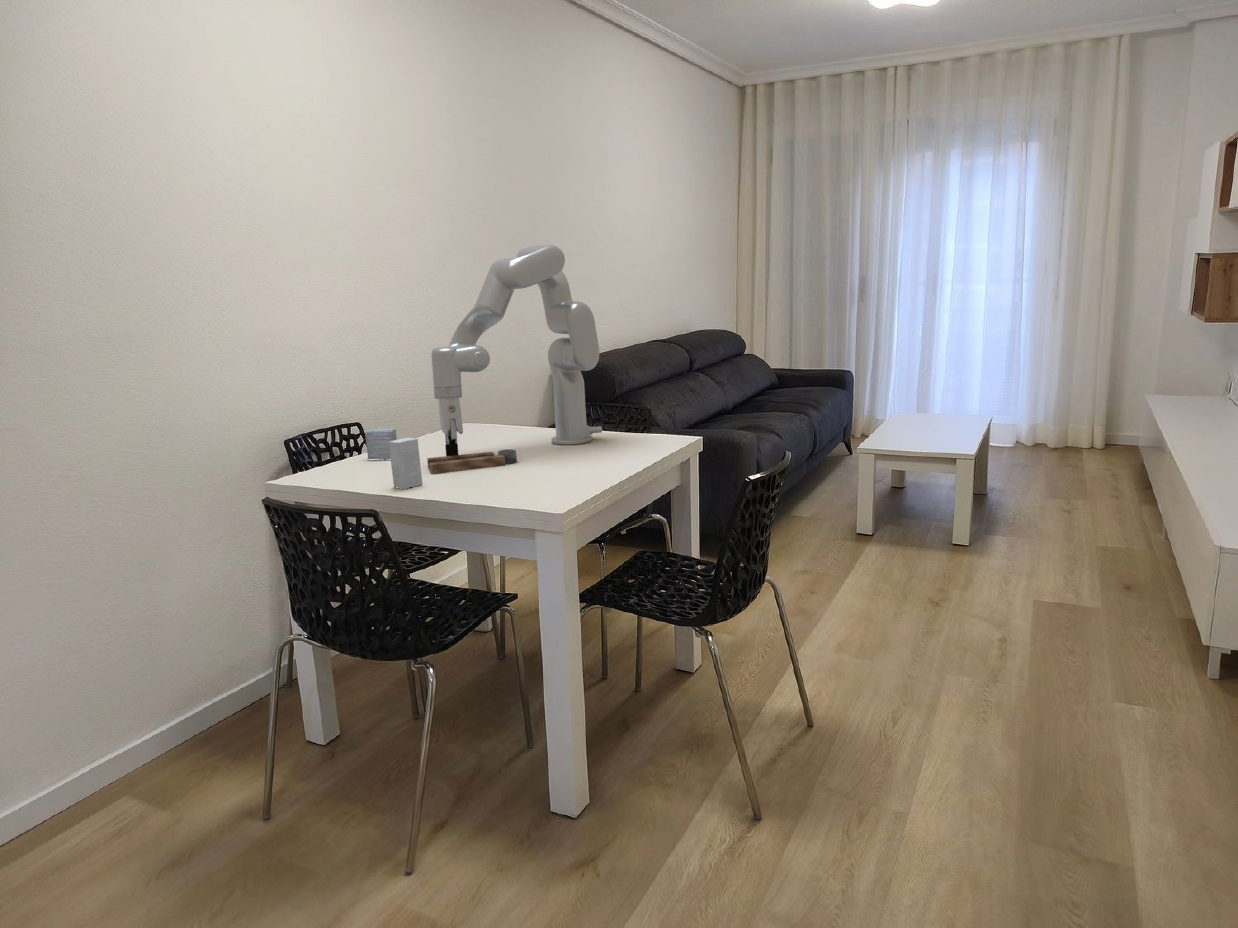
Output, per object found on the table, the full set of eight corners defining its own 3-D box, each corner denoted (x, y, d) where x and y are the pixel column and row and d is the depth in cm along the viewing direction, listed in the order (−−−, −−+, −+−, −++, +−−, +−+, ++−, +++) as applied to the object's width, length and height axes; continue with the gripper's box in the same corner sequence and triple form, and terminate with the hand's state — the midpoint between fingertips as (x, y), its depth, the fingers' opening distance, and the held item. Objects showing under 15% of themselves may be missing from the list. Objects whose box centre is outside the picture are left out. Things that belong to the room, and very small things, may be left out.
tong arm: (493, 460, 247) (492, 451, 247) (494, 462, 244) (494, 453, 244) (428, 467, 242) (427, 458, 242) (428, 469, 240) (428, 460, 239)
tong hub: (514, 459, 248) (513, 448, 247) (519, 463, 242) (518, 452, 242) (428, 470, 240) (427, 458, 239) (431, 474, 234) (430, 462, 234)
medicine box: (399, 457, 260) (396, 428, 258) (394, 460, 256) (390, 431, 254) (373, 458, 261) (370, 429, 259) (367, 461, 257) (364, 431, 255)
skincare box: (412, 483, 225) (407, 437, 223) (423, 484, 222) (418, 438, 220) (392, 488, 221) (387, 441, 218) (403, 490, 218) (398, 442, 215)
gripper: (466, 394, 236) (470, 461, 240) (457, 389, 250) (461, 452, 254) (438, 396, 234) (442, 464, 237) (430, 390, 248) (435, 455, 251)
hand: (452, 458), depth 245 cm, fingers closed
